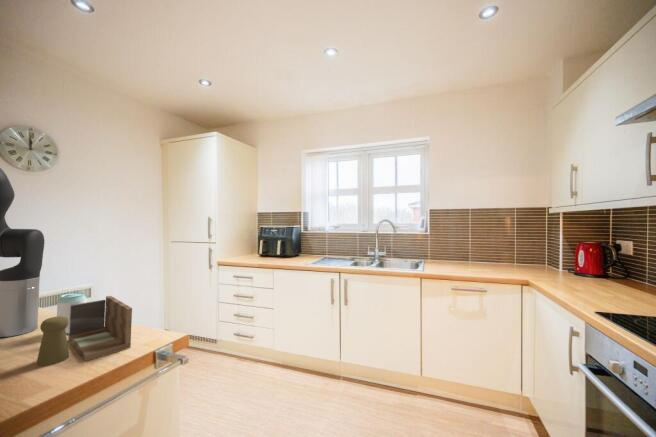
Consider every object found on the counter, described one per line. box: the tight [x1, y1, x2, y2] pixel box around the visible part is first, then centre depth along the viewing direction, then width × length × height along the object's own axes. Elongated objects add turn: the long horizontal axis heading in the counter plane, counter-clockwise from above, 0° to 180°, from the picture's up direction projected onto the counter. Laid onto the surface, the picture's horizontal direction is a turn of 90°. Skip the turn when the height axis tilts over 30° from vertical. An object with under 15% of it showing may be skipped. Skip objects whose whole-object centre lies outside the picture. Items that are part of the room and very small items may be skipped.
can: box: [56, 292, 88, 335], centre depth 89 cm, size 7×7×12 cm
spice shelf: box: [67, 295, 133, 362], centre depth 81 cm, size 20×10×12 cm, turn 53°
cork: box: [36, 316, 70, 367], centre depth 71 cm, size 6×6×11 cm
